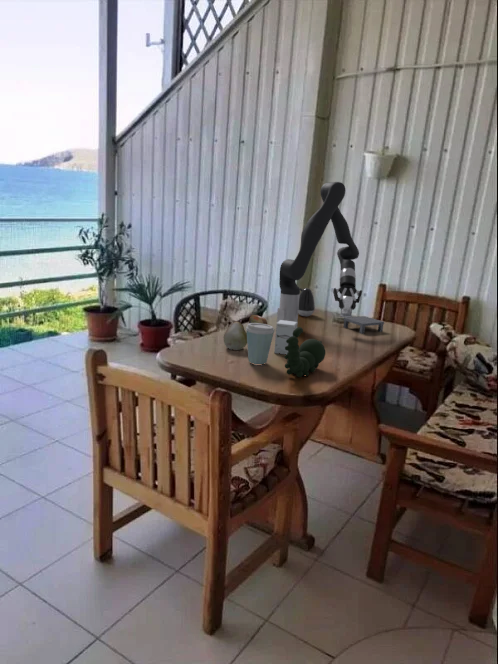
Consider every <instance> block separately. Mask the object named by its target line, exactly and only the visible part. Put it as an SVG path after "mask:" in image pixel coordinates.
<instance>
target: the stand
mask: <svg viewBox="0 0 498 664" xmlns="http://www.w3.org/2000/svg"><path fill="white" fill-rule="evenodd" d="M349 323H351V324H354V325H356V326H360V327H359V334H361V335H364V334H365V331H366V327H370V326H378V327H377V332H379V333H383V329H384V324H385V321H383V320H379V319H375V318H373V317H369V316H365V315H361V316H352V317H350V318H348V317H343V328H345V329H348V328H349Z"/></svg>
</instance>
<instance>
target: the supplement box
mask: <svg viewBox="0 0 498 664" xmlns="http://www.w3.org/2000/svg"><path fill="white" fill-rule="evenodd" d="M275 327H276V328H275V340H274V351H273V353H274V354H279V353H280V354H279V355H285V354H287V353H288V350H285V347H286V346H288V343H287V342H286V340H287V339H289V337H291V336H293V331H294V330H295V328H297V327H298V322H293V321H285V320H280V321H279V322H277V321H276V326H275Z"/></svg>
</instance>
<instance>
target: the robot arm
mask: <svg viewBox="0 0 498 664" xmlns="http://www.w3.org/2000/svg"><path fill="white" fill-rule="evenodd" d="M319 194H320V196H321V199H322V202H323V204H322V205H321V206H320V207H319V208H318V209H317V210H316V212H315V213H313V214H312V215H311V216H310V218H309V219H308V220H307V222H306V224H305V226H304V228H303V230H302V232H301V237H300V248H299V250H298V253H297V255H296V256H295V258H294V259H290V258H289V259H288V258H287V259H285V260H284V261H282V262H281V265H280V267H279V279H278V280H279V283H278V284H279V289H280V297H279V307H278V308H277V315H276V323H277V322H279V321H280V320H285V321H293V322H298V318H299V314H298V309H299V296H300V293H301V291H300V287H299V286H298V284H297V282H296V281H299V280H301V279H303V277H304V275H305V273H306V271H307V268H308V266H309V263H310V261H311V258H312V256H313V253H314V252H315V250H316V248H317V246H318V243H319V242H320V240H321V239H322V237H323V235H324V233H325V230H326V228H327V227H328V225H329V223H330V221H331V223H332V226H333V230H334V232H335V237H336V240H337V243H338V244H340V245H343V244H344V245H347V246H344V247H343V246H342V247H340V248H338V249H337V252H336V254H337V258H338V261H339V264H340V273H339V287H338V288H336V287H334V288H333V291H332V293H333V297H334V301H335V302H338V308H339V309H342V299H343V296H344V295H347V296H353V297H354V298H353V306H352V311H354V310H355V309H356V307H357V304H359V303H360V301H361V298H362V297H361V296H362V293H363V290H358V289H357V287H356V285H357V283H356V282H357V281H356V279H357V278H356V263H355V261H354V260H357V259H358V258H359V256H360V250H359V249H358V247H357V245H356V243H355V241H354V240H353V238H352V235H351V234H352V233H351V231H350V227H349V224H348V221H347V220H346V218H345V217H344V215H343V214H342V212H341V210H340V208H339V206H340V204H341V203H342V201H343V200H344V198H345V196H346V186H345V184H344V183H343V182H340V181H331V182H325V183H324V184H323V185H322V186H321V187H320V193H319ZM339 294H340V297H339ZM356 295H357V297H356Z"/></svg>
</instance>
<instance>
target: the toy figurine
mask: <svg viewBox="0 0 498 664" xmlns="http://www.w3.org/2000/svg"><path fill="white" fill-rule="evenodd" d="M302 333H304V329H303V327H301V326H297V328H295V330H294V331H293V336H291V337H289V339H287V340H286V342H287V343H288V346H286V347H285V350H288V353H287V354H286V355H285V354H284V359H286V361H287V362H286V363H285V364H284V368H285V369H286V374H287V375H289V376H291V375H292V373H294V374H293V375H296V377H298V378H302V377H303V375H306V376H308V375H309V376H310V372H313V373H315V371H316V369H317V368H318V367H319V364H321V363H322V361H324V360H325V358H326V357H325V356H326V348H325V346H324V344H323V341H322V340H318V339H315V338H308V339H305V340H304V341H303V342H302V343H301V344H300V345H299V337H300V336H301V334H302ZM309 376H308V377H309Z"/></svg>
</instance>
